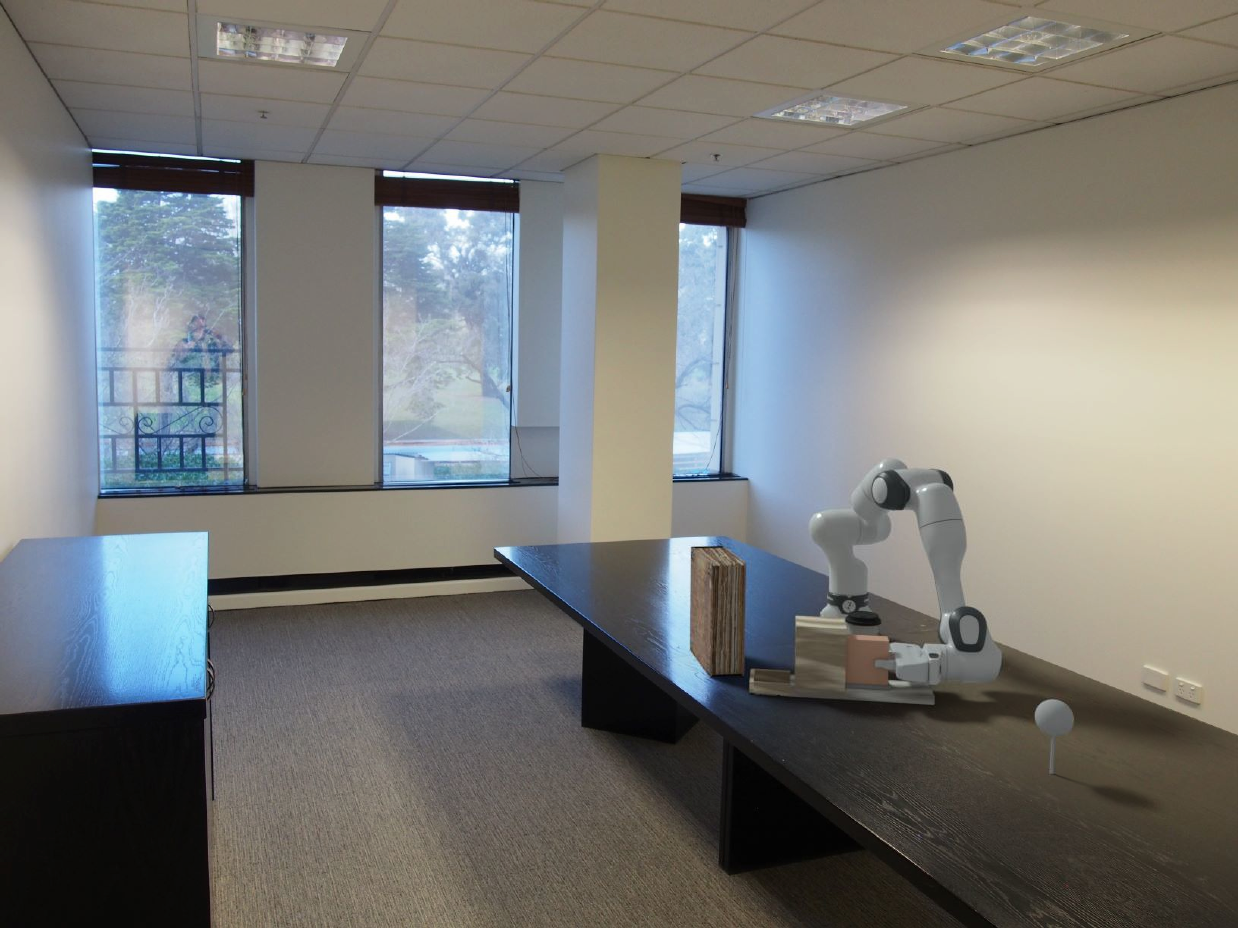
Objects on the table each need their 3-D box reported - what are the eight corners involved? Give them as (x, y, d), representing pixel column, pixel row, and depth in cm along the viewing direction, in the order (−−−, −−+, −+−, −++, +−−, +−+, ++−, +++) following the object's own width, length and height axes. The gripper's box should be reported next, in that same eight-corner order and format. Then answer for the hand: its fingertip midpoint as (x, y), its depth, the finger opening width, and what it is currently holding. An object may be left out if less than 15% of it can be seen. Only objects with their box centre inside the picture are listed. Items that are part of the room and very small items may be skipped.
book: (744, 676, 257) (746, 563, 254) (709, 677, 256) (711, 563, 253) (721, 648, 282) (722, 545, 279) (689, 649, 281) (690, 546, 278)
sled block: (838, 679, 248) (839, 633, 247) (887, 682, 246) (889, 635, 245) (839, 687, 242) (841, 639, 241) (890, 690, 240) (891, 642, 239)
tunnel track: (750, 679, 254) (752, 613, 252) (927, 689, 247) (930, 621, 245) (749, 693, 243) (750, 624, 242) (934, 704, 236) (937, 633, 234)
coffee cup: (854, 675, 258) (856, 619, 256) (837, 665, 267) (838, 611, 265) (886, 673, 260) (888, 617, 259) (868, 662, 269) (870, 608, 268)
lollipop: (1060, 765, 200) (1064, 694, 199) (1077, 780, 193) (1081, 706, 192) (1026, 766, 200) (1029, 694, 199) (1042, 780, 193) (1045, 706, 192)
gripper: (926, 637, 251) (870, 635, 253) (938, 661, 230) (877, 658, 233) (925, 662, 251) (869, 659, 253) (937, 687, 231) (876, 684, 233)
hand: (873, 658), depth 243 cm, fingers closed on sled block, 4 cm apart
